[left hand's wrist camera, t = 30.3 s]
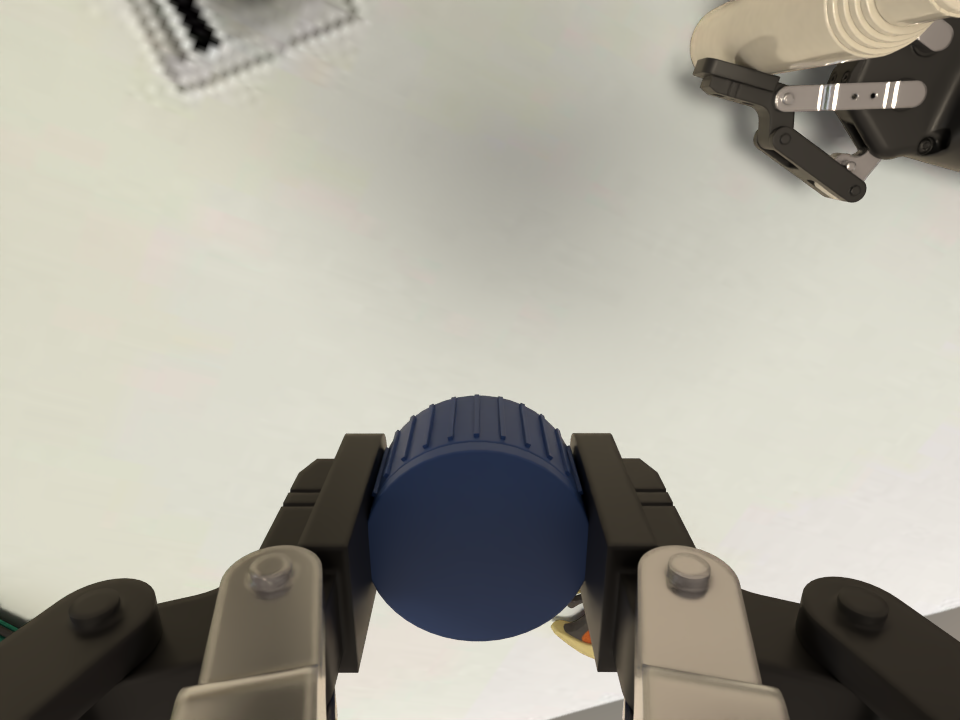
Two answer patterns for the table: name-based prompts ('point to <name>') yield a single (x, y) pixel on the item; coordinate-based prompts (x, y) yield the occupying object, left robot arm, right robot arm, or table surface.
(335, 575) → the left robot arm
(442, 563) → the cap
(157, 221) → the table surface
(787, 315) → the table surface
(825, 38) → the bottle
